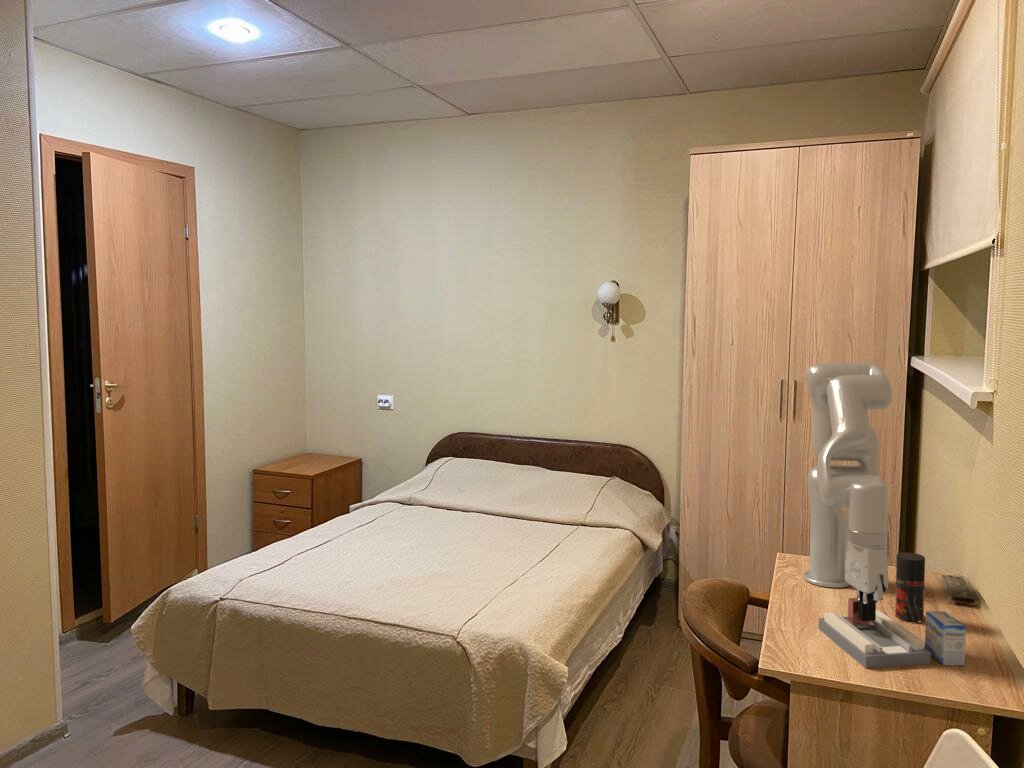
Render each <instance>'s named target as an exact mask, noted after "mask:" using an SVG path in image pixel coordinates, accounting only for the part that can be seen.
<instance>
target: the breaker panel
mask: <svg viewBox="0 0 1024 768" xmlns="http://www.w3.org/2000/svg"><path fill="white" fill-rule="evenodd" d="M843 617H844V616H841V615H840V614H839V613H833V612H825V613H824V617H820V618H819V617H818V630H819V629H820V630H819V631H821V632H822V631H823V632H824V633H825V634H826V635H825V634H824V633H823V632H822V633H823V634H824V635H825V636H827V637H828V638H829V639H830V638H831V639H832V642H834V643H835V644H836V645H837V646H839V648H840V649H842V650H843V651H844V652H846V653H847V654H848V655H850V656H851V657H852V658H853V659H854V660H855V661H857V663H859V664H860V665H861V666H862V667H864V668H865V669H874V668H889V667H890V668H891V667H906V666H919V665H920V666H921V665H931V661H932V660H931V657H932V655H931V652H930V651H928V650H927V649H925V640H923V639H922V638H920V637H918V636H917V635H916V634H915V633H912V632H911V631H909V629H908V628H907V629H906V628H905V627H904V626H902V625H901V624H899V623H898V622H897V621H894V620H893V619H892V618H890V617H889V616H888V615H886V614H884V613H883V612H881V611H880V610H879V609H876V619H875V621H871V622H872V623H874V624H875V625H876V627H874V628H858V629H857V628H856V627H855V626H853V625H852V624H851V623H849V622H848V621H847V620H845V619H844V618H843ZM831 639H830V640H831Z"/></svg>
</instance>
